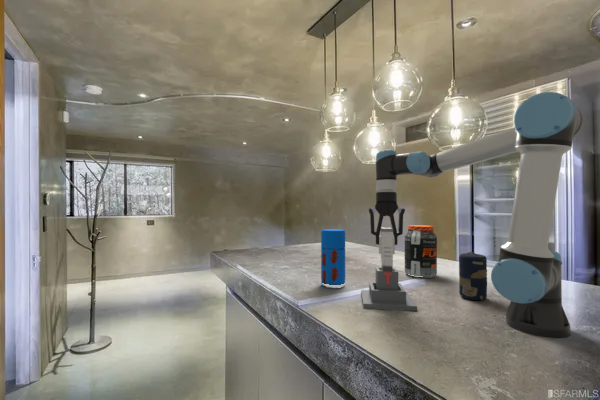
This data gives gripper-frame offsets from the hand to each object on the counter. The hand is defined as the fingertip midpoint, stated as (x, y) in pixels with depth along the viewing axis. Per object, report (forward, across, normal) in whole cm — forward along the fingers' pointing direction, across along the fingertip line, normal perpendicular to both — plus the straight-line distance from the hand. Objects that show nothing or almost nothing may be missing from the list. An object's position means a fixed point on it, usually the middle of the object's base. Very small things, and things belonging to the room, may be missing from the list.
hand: (386, 253), depth 115 cm
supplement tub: (+18, -23, -48) cm, 56 cm away
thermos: (+18, +21, -20) cm, 34 cm away
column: (+12, 0, 0) cm, 12 cm away
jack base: (+18, 0, 0) cm, 18 cm away
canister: (+18, -34, -10) cm, 40 cm away
